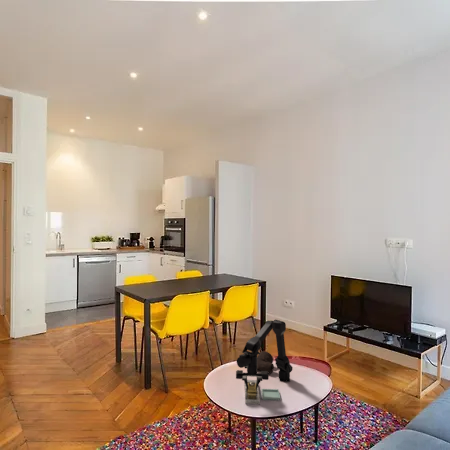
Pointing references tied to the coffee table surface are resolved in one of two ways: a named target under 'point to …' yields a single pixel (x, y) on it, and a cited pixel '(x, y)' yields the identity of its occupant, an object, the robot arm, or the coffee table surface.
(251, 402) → the grey slotted plate
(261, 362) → the brown rounded lump
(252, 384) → the brass block with knob
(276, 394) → the parts tray
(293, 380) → the coffee table surface
